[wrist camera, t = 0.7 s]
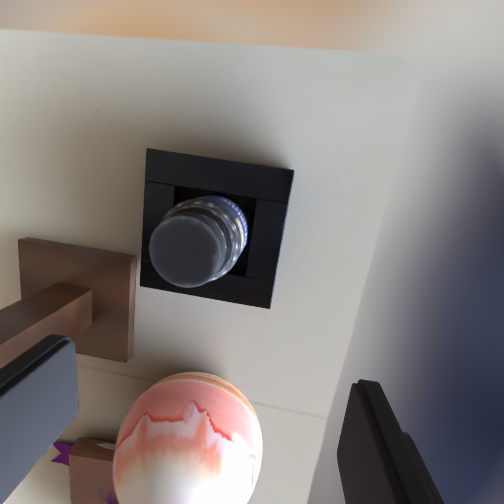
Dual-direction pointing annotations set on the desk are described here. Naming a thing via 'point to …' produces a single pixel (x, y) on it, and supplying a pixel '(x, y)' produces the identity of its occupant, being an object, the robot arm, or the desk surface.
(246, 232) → the pill bottle
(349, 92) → the desk surface
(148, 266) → the holder
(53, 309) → the stand
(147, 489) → the vase
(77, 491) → the book
